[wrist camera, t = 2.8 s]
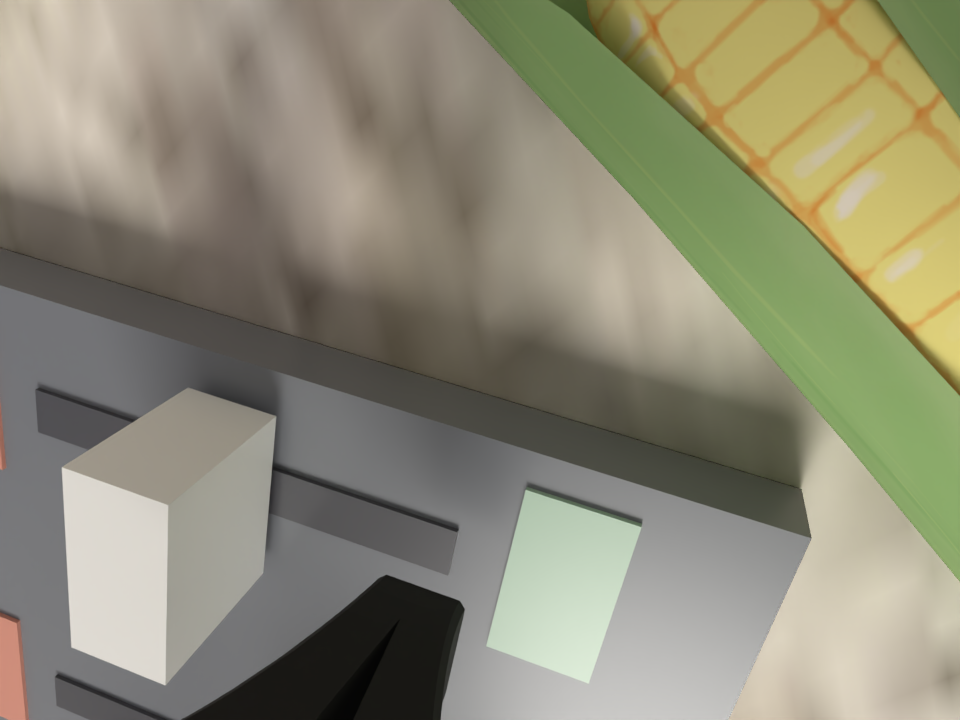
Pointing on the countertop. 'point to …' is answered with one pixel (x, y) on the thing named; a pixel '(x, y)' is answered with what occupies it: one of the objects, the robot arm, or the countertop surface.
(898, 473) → the edible corn
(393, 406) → the breaker panel
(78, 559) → the block
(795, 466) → the countertop surface
